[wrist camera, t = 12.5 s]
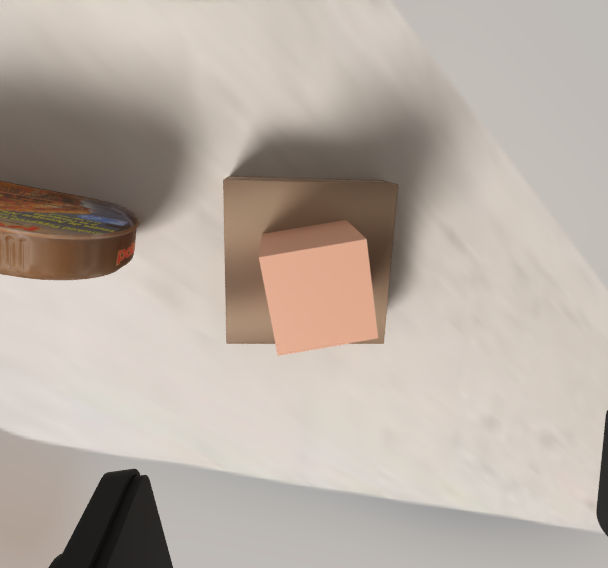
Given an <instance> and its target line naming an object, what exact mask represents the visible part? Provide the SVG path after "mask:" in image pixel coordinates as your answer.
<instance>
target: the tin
mask: <svg viewBox="0 0 608 568" xmlns="http://www.w3.org/2000/svg"><path fill="white" fill-rule="evenodd" d="M138 224H139V220H138V218H137V217H136V216H135V215H134V214H133V213H132V212H130V211H128V210H126V209H125V208H123V207H120V206H117V205H114V204H111V203H108V202H104V201H99V200H96V199H91V198H86V197H81V196H75V195H71V194H65V193H60V192H54V191H49V190H44V189H39V188H33V187H28V186H23V185H18V184H13V183H8V182H3V181H0V274H4V275H10V276H16V277H23V278H31V279H41V280H78V279H89V278H95V277H100V276H104V275H108V274H111V273H113V272H115V271H117V270H118V269H120V268H121V267H123V266H124V265H126V264H127V263H128V262H129V261H130V260H131V259H132V258H133V255H134V249H135V238H136V228H137V227H138Z"/></svg>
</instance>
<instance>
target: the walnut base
mask: <svg viewBox="0 0 608 568" xmlns="http://www.w3.org/2000/svg"><path fill="white" fill-rule="evenodd" d="M397 189H398V185H397V184H394V183H390V182H386V181H374V180H339V179H304V178H268V177H233V176H229V177H227V178H226V179H224V180H223V190H224V241H225V292H226V342H227V344H275V339H274V333H273V328H272V323H271V318H270V313H269V308H268V302H267V297H266V292H265V287H264V282H263V277H262V271H261V266H260V261H259V252H260V246H261V239H262V234H265V233H271V232H277V231H283V230H289V229H295V228H300V227H306V226H312V225H318V224H324V223H330V222H336V221H342V220H347V221H348V222H349V223H350V224H351V225H352V226H353V227H354V228H355V229H356V230H358V231H359V232H360V233H361V234H362V235H363V236H364V237H365V238H366V239H367V247H368V255H369V264H370V272H371V281H372V289H373V298H374V306H375V314H376V323H377V331H378V338H377V339H371V340H365V341H360V342H354V343H348V344H384V335H385V324H386V313H387V301H388V290H389V279H390V268H391V257H392V245H393V234H394V223H395V212H396V200H397Z"/></svg>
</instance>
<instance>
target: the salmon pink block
mask: <svg viewBox="0 0 608 568" xmlns="http://www.w3.org/2000/svg"><path fill="white" fill-rule="evenodd" d="M259 261H260V266H261V271H262V277H263V282H264V287H265V292H266V297H267V302H268V308H269V313H270V318H271V323H272V328H273V333H274V339H275V344H276V349H277V354H278V356H279V355H285V354H290V353H296V352H302V351H308V350H313V349H319V348H325V347H331V346H337V345H342V344H348V343H354V342H360V341H365V340H371V339H377V338H378V331H377V323H376V314H375V306H374V298H373V289H372V281H371V272H370V264H369V255H368V247H367V239H366V238H365V237H364V236H363V235H362V234H361V233H360V232H359V231H358V230H356V229H355V228H354V227H353V226H352V225H351V224H350V223H349V222H348V221H347V220H342V221H336V222H330V223H324V224H318V225H312V226H306V227H300V228H295V229H289V230H283V231H277V232H271V233H265V234H262V239H261V246H260V252H259Z"/></svg>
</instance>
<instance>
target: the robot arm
mask: <svg viewBox="0 0 608 568" xmlns="http://www.w3.org/2000/svg"><path fill="white" fill-rule="evenodd" d="M597 518H598V522H599V524H600V526H601V528H602V530H603V531H604V532H605V534H606V535H607V536H608V410H607V413H606V419H605V430H604V440H603V450H602V460H601V470H600V481H599V491H598V501H597ZM49 568H173V566H172V562H171V558H170V555H169V551H168V547H167V543H166V540H165V536H164V532H163V529H162V525H161V521H160V517H159V514H158V510H157V506H156V502H155V499H154V495H153V491H152V487H151V484H150V480H149V478H148V476H147V475H141V476H140V473H139V472H138V470H137V469H129V470H122V471H115V472H108V473H106V474H104V475H103V477H102V478H101V480H100V482H99V484H98V486H97V488H96V490H95V492H94V494H93V496H92V498H91V500H90V502H89V504H88V505H87V507H86V509H85V511H84V513H83V515H82V517H81V519H80V521H79V523H78V525H77V527H76V528H75V530H74V533H73V534H72V536H71V538H70V540H69V542H68V544H67V546H66V548H65V550H64V552H63V553H62V554H60V555H59V556H57V557H56V558H55V559H54V560H53V562H52V563H51V565H50V566H49Z"/></svg>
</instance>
